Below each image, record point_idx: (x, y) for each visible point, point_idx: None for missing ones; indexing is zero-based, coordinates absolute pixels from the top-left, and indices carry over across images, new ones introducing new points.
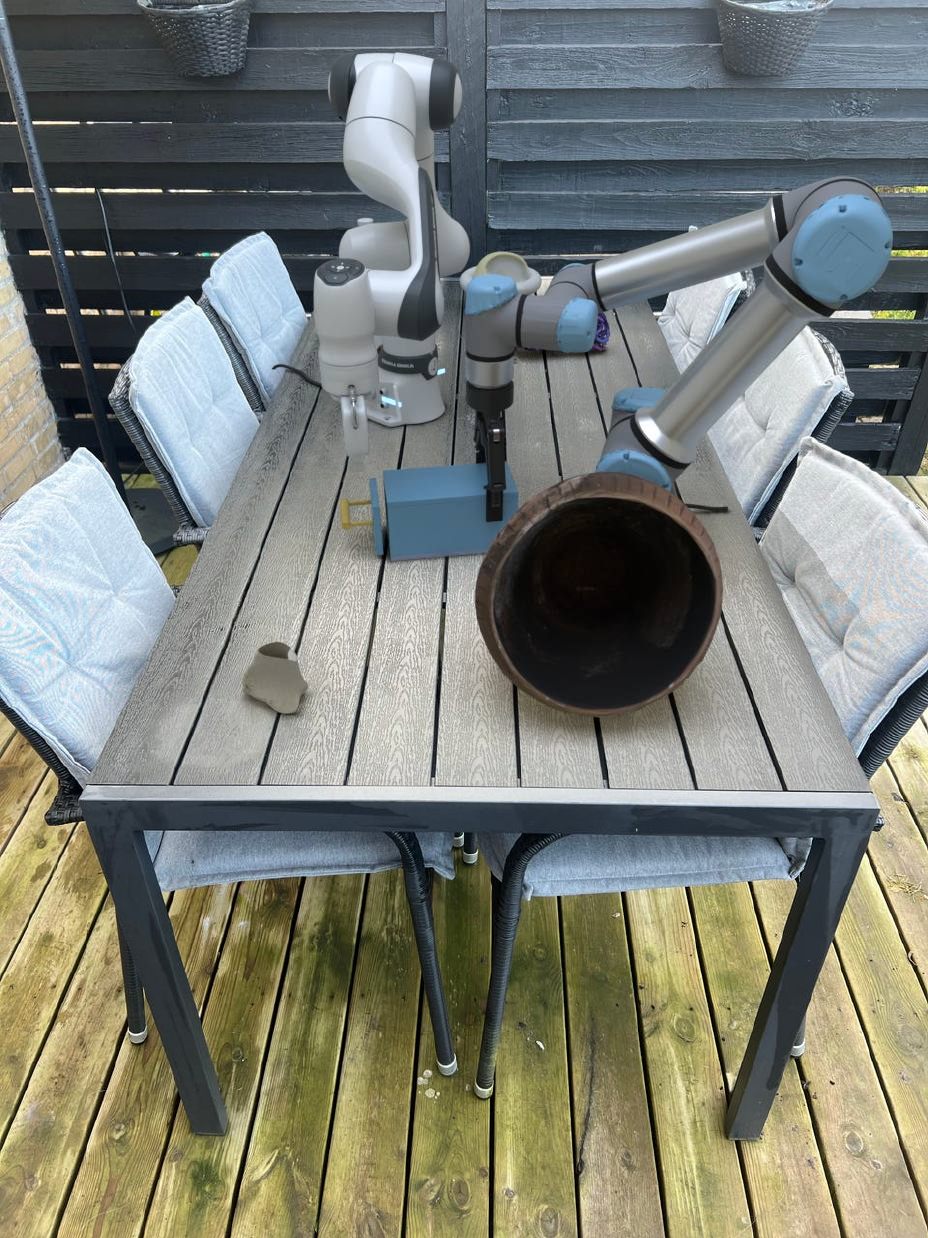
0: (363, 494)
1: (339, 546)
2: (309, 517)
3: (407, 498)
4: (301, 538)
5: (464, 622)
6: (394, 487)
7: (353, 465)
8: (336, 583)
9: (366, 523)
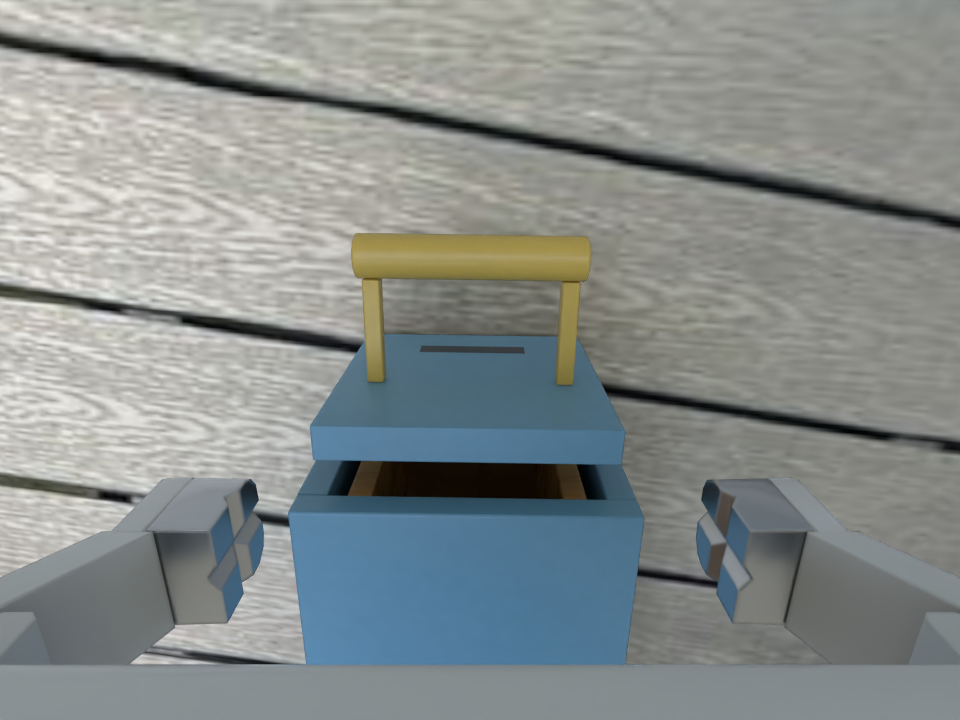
0: (854, 311)
1: (486, 195)
2: (746, 69)
3: (319, 601)
4: (579, 27)
5: (37, 536)
6: (440, 557)
7: (132, 513)
8: (232, 172)
9: (366, 350)
